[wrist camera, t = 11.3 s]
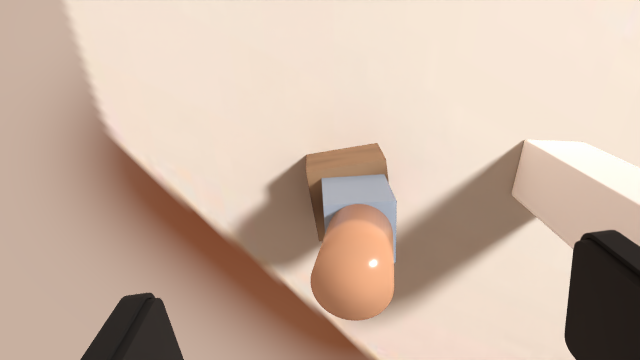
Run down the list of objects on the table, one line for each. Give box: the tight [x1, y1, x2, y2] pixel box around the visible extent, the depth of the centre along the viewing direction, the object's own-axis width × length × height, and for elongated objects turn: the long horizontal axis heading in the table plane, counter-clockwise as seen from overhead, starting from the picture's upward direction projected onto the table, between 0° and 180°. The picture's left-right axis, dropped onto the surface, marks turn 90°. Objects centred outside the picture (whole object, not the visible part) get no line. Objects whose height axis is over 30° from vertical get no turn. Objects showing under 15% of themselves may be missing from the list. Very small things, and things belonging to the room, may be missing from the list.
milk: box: [512, 140, 640, 249], centre depth 31 cm, size 6×6×22 cm
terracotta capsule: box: [311, 204, 394, 320], centre depth 27 cm, size 5×5×7 cm
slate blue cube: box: [322, 174, 397, 263], centre depth 34 cm, size 6×6×6 cm
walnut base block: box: [306, 143, 388, 241], centre depth 39 cm, size 7×7×5 cm
